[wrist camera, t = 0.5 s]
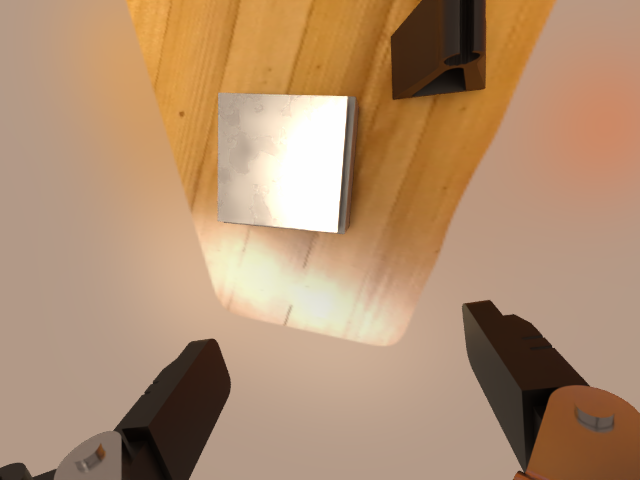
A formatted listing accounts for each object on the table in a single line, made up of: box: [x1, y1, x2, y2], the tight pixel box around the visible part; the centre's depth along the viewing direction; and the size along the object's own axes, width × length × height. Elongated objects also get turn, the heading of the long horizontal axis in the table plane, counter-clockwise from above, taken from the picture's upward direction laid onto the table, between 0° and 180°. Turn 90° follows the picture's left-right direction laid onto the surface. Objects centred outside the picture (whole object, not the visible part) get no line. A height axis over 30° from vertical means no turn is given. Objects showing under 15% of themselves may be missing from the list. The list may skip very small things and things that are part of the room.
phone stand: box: [391, 0, 486, 99], centre depth 28 cm, size 9×6×12 cm, turn 94°
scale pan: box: [218, 93, 349, 232], centre depth 31 cm, size 12×12×1 cm
